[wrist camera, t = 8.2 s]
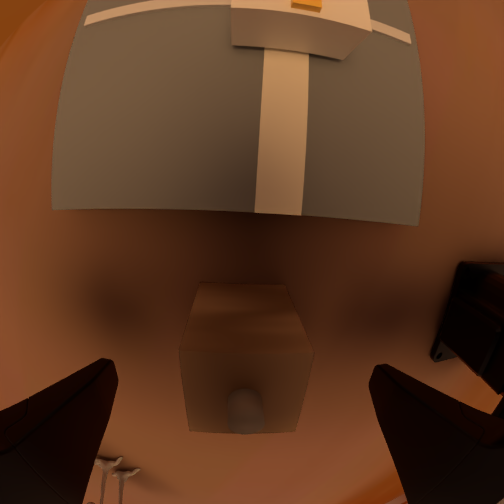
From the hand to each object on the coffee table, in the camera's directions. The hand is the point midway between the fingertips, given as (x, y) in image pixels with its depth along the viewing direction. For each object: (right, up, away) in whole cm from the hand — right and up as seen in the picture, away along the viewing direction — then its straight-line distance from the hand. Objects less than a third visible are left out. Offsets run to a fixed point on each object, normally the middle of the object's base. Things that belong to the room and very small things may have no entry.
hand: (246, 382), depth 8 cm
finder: (+2, +14, -1) cm, 14 cm away
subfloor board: (0, +12, +1) cm, 12 cm away
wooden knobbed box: (0, +1, +4) cm, 4 cm away
